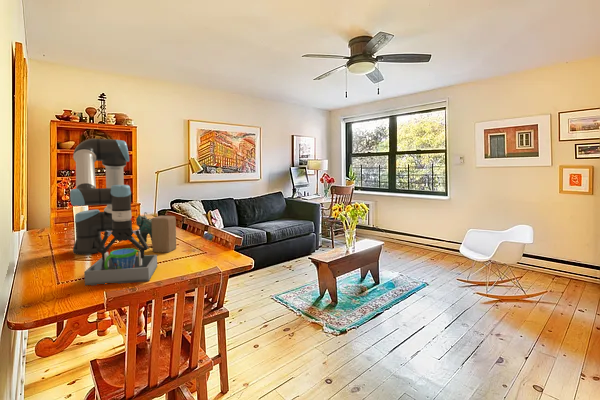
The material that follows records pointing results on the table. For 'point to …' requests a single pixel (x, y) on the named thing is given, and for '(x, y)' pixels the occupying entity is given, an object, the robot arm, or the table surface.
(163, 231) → the wooden block
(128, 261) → the snack cup
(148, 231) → the green animal figurine
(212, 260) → the table surface
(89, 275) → the grey tray
